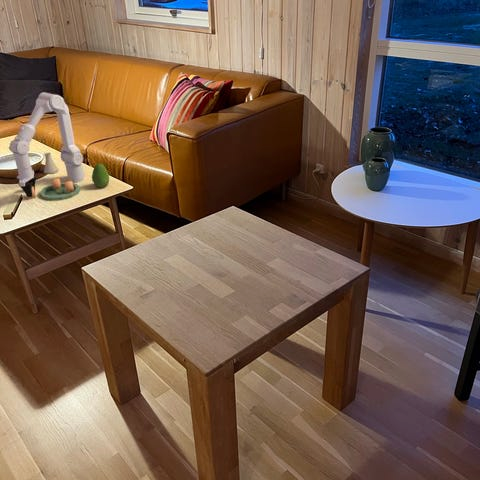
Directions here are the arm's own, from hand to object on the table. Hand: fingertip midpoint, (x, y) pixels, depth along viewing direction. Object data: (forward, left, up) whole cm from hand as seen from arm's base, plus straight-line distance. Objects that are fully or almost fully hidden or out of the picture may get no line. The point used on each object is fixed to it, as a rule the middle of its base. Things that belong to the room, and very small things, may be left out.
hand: (31, 194), depth 212 cm
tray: (-4, +12, -2) cm, 13 cm away
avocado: (-10, +30, -2) cm, 32 cm away
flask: (-34, 0, -2) cm, 34 cm away
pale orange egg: (0, 0, -2) cm, 2 cm away
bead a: (-4, +16, -1) cm, 17 cm away
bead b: (-8, +10, -1) cm, 13 cm away
